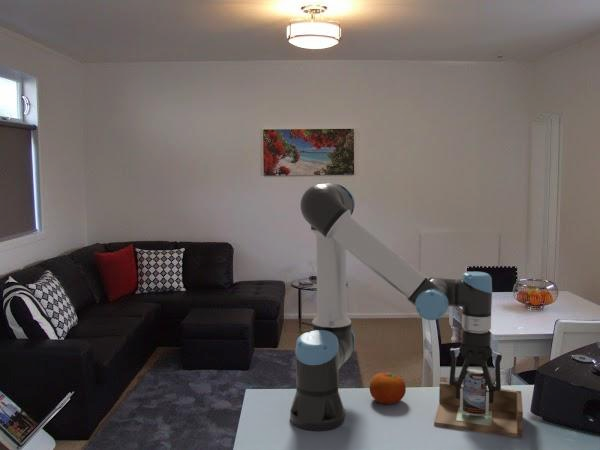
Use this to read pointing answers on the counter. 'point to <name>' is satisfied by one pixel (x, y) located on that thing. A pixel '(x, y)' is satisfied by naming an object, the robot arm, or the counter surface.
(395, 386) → the fruit
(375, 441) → the counter surface
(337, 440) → the counter surface
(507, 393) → the tray
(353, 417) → the counter surface
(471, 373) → the labeled jar
